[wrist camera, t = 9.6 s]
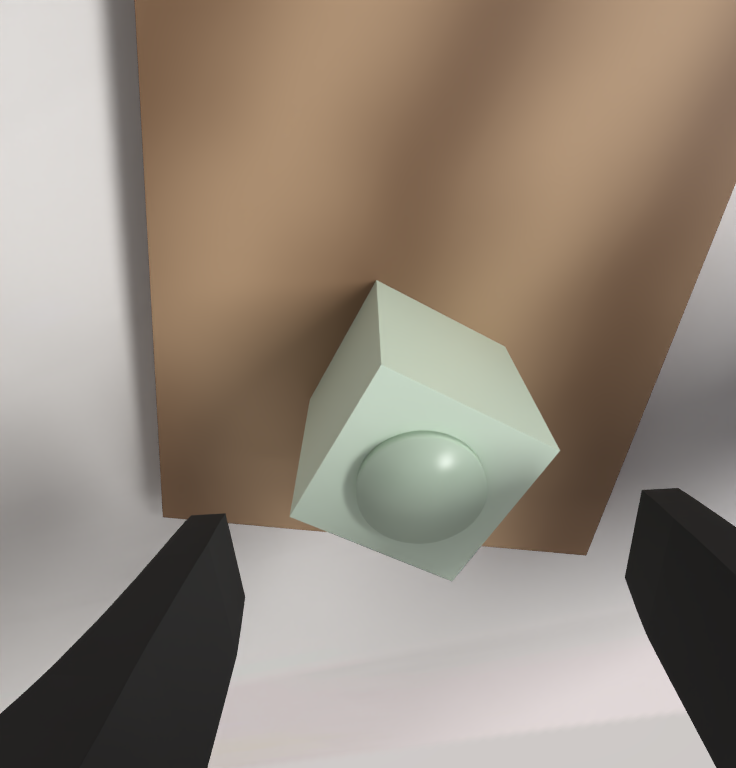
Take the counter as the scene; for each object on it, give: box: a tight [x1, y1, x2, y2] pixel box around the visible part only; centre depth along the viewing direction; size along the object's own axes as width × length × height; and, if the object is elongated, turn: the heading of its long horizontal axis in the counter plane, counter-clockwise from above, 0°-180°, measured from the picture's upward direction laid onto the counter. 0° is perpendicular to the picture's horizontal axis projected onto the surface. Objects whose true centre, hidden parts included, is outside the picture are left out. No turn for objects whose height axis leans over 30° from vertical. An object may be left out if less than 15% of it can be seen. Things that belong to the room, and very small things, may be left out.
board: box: [135, 0, 736, 555], centre depth 15 cm, size 14×20×1 cm
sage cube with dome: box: [290, 280, 560, 581], centre depth 14 cm, size 4×4×5 cm
